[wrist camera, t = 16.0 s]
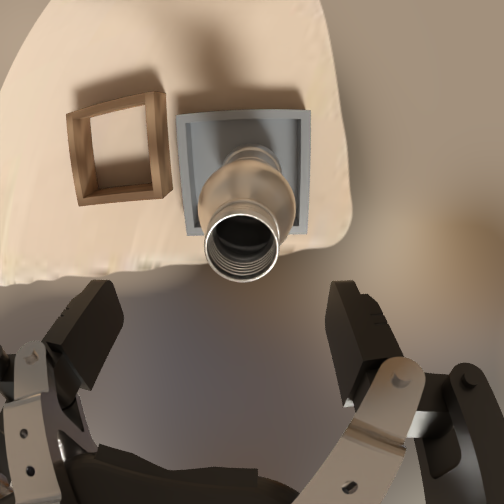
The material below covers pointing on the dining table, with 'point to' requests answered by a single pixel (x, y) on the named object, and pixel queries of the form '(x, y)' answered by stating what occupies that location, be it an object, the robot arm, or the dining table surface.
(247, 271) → the plastic bottle
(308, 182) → the grey tray
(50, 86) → the dining table surface
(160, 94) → the walnut collar
